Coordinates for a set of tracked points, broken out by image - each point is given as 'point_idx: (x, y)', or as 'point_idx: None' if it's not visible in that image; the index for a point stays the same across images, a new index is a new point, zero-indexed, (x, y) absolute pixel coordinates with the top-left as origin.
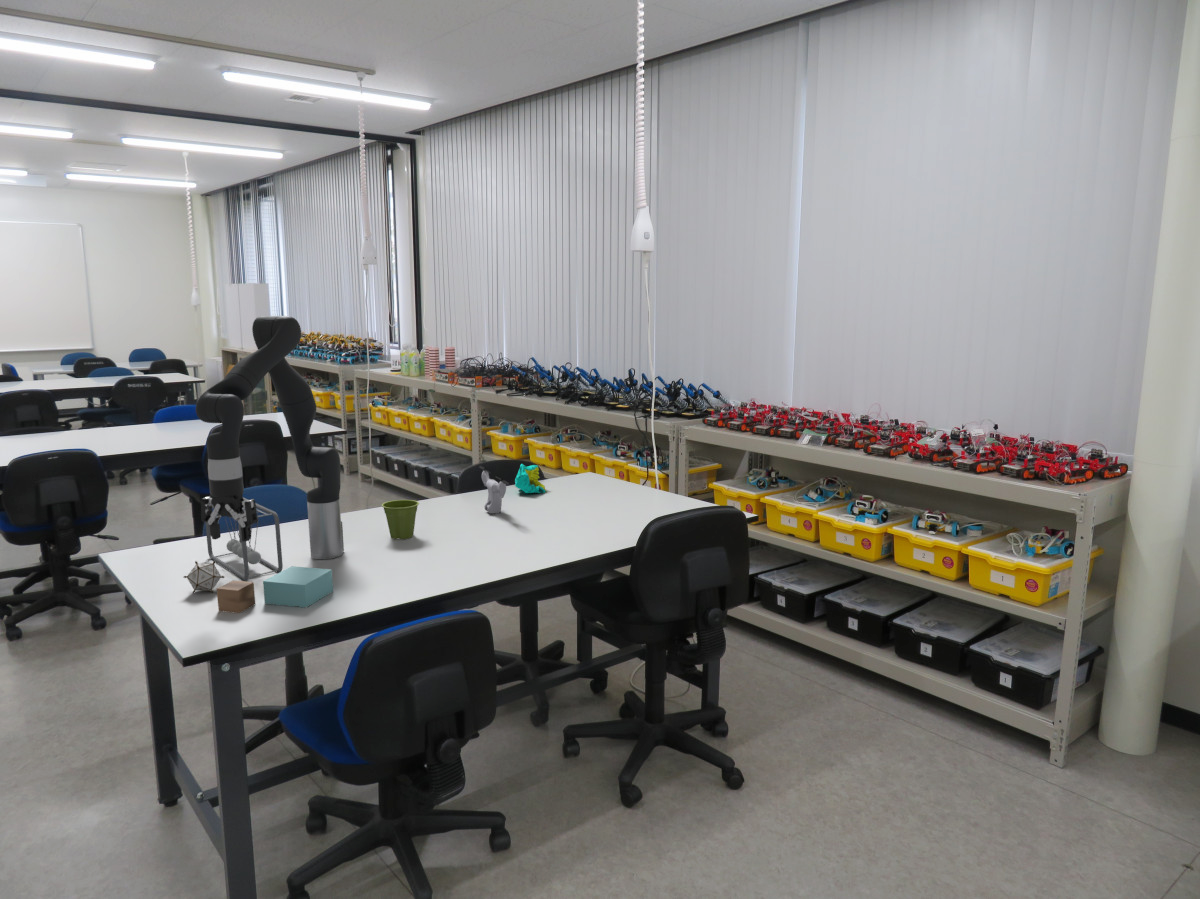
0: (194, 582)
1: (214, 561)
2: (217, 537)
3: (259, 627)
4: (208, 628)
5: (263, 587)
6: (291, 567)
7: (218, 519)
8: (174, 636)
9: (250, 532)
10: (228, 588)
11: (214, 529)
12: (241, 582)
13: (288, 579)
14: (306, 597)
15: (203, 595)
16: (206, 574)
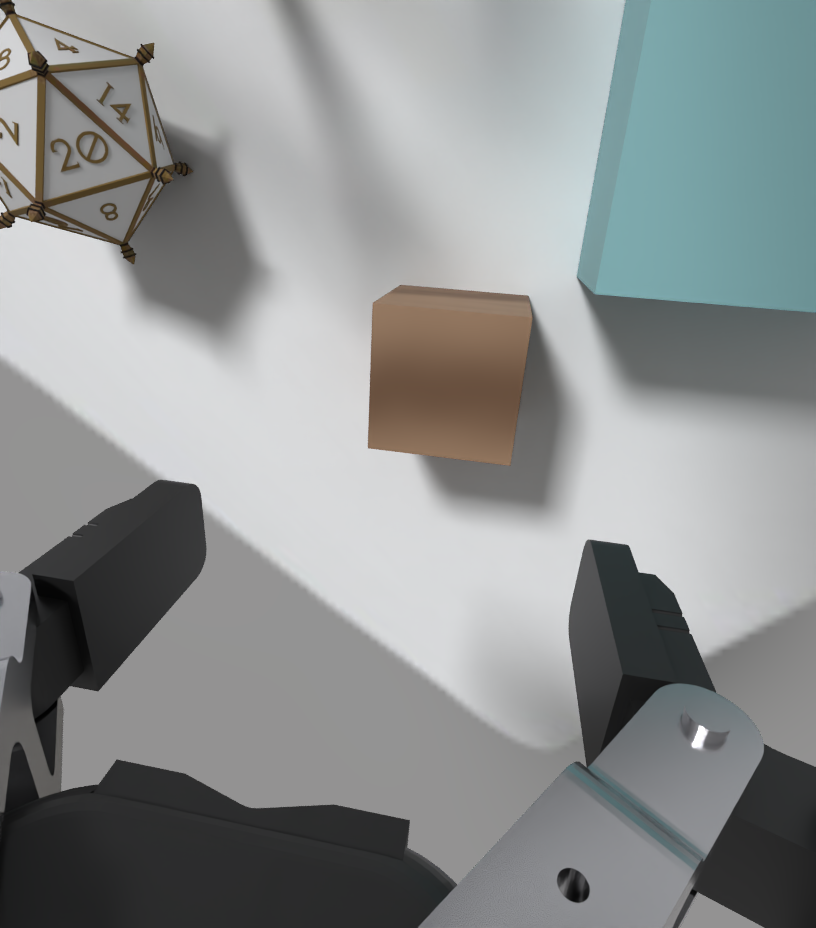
0: (94, 237)
1: (36, 62)
2: (197, 531)
3: (692, 554)
4: (472, 575)
5: (588, 287)
6: None
7: (28, 646)
8: (394, 640)
9: (687, 644)
10: (437, 442)
11: (135, 630)
12: (453, 334)
13: (787, 224)
14: None
15: (173, 217)
16: (110, 192)
